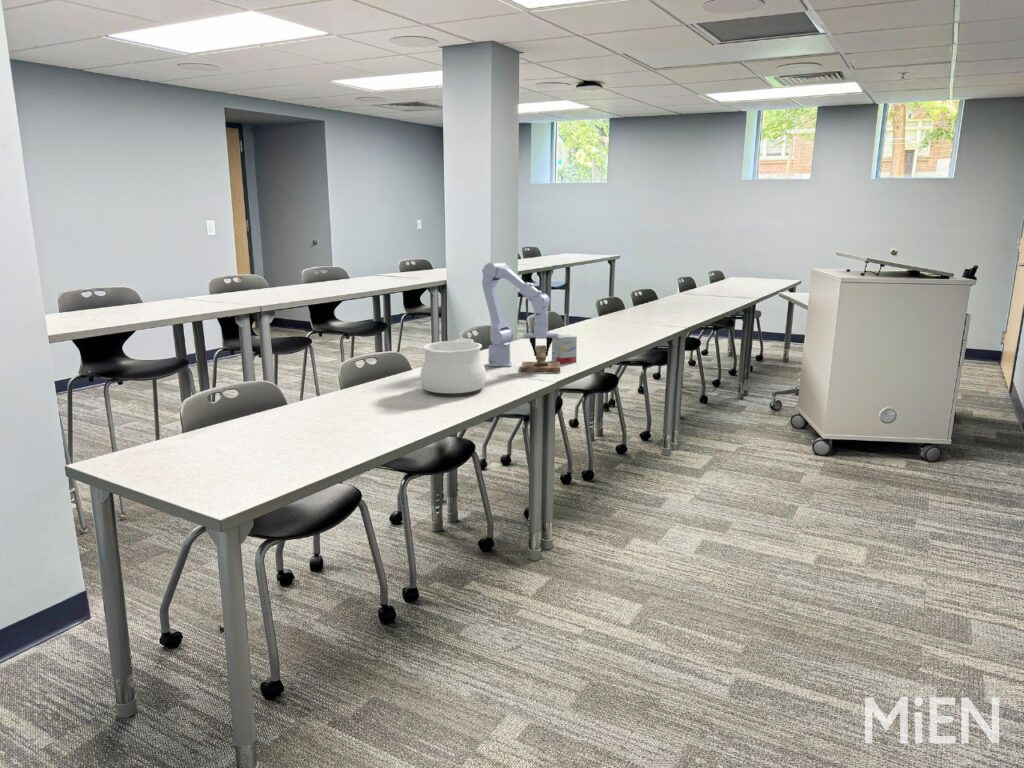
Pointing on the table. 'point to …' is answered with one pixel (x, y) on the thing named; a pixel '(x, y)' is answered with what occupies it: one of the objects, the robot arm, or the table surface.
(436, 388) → the pot
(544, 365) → the board
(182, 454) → the table surface
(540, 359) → the peg
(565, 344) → the ink box
